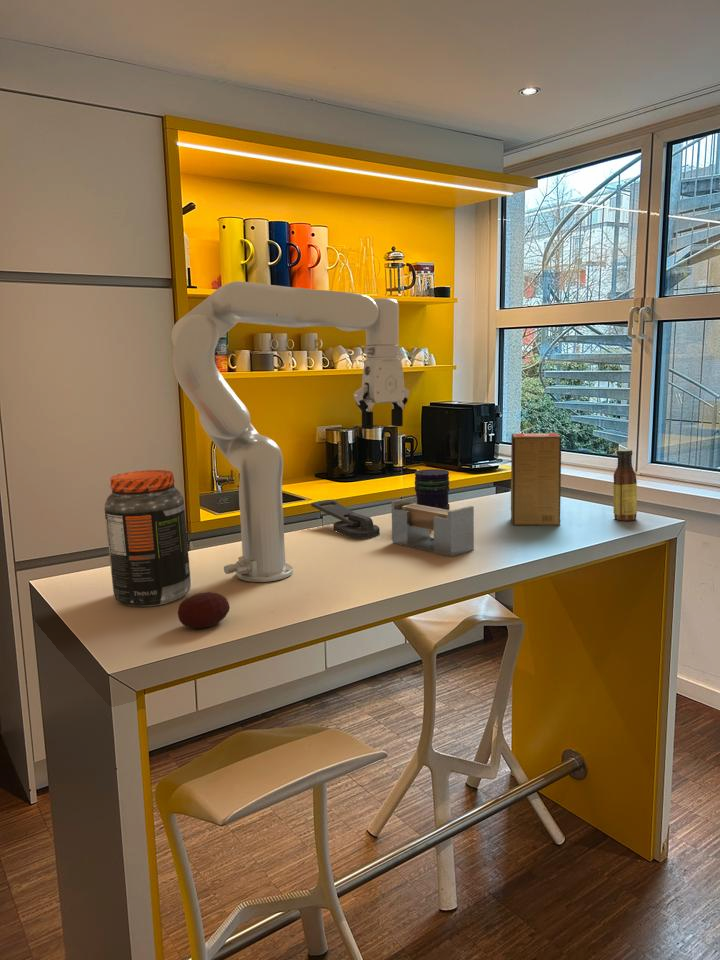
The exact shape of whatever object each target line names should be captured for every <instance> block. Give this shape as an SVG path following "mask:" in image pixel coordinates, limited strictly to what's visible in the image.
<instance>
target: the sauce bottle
mask: <svg viewBox="0 0 720 960" xmlns="http://www.w3.org/2000/svg"><path fill="white" fill-rule="evenodd" d="M616 456H617V467H616V469H615V470H614V472H613V485H612V487H613V494H612V495H613V515H614V516H613V517H614V519H615V520H617V521H622V522H623V521H624V522H630V521H631V522H632V521H634V520H636V519H637V514H638V501H637V500H638V495H637V494H638V491H637V489H638V488H637V487H638V485H637V483H638V482H637V475H636V472H635V471H634V468H633V463H632V461H633V460H632V459H633V458H632V457H633V450H632V449H629V448H627V449H625V448H622V449H617V450H616Z"/></svg>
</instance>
